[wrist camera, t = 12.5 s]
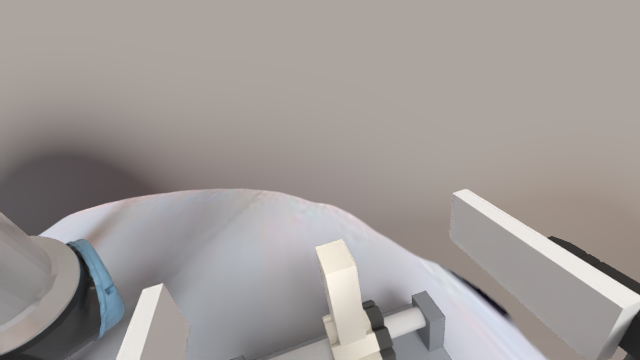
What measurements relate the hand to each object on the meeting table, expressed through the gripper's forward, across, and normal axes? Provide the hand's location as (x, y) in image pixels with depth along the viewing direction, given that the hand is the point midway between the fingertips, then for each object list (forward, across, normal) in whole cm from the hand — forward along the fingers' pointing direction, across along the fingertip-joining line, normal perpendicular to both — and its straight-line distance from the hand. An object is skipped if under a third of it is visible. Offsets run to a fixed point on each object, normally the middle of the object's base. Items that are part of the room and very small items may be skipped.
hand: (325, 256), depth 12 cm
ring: (+11, +6, -28) cm, 30 cm away
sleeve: (+11, +2, -28) cm, 30 cm away
